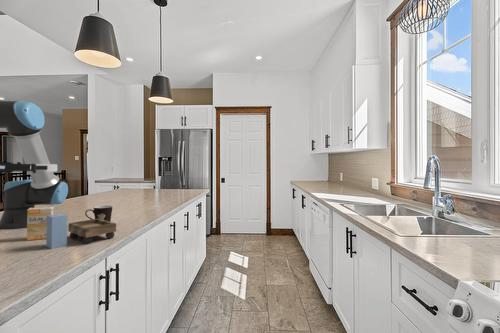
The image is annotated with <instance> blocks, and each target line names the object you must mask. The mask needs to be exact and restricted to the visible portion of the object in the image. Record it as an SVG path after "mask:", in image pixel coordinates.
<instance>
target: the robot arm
mask: <svg viewBox="0 0 500 333" xmlns="http://www.w3.org/2000/svg"><path fill="white" fill-rule="evenodd" d="M45 118H46V117H45V115H44V112H43V111H42V109H41V108H40V107H39V106H38V105H37V104H35V103H33V102H30V101H28V102H27V101H23V100H19V101H17V100H0V129H6V132H7V134H8V135H9V136H10V137H13V138H14V139H15V142H16V143H17V144H16V145H18V149H19V151H20V153H21V155H22V157H23V160H24V162H25V163H21V162H20V161H19V162H18V161H17V162H16V163H13V162H8V161H0V174H3V173H13V172H29V174H30V177H31V179H30V178H29V179H21V180H12V181H7V182H5V184H4V187H3V188H4V189H3V213H2V215H1V217H0V229H5V230H7V229H9V230H10V229H12V230H13V229H21V228H27V212H28V209H29V208H36V207H35V206H50V205H51V206H54V205H61V204H62V203H64V201H65V200H66V199H67V196H68V194H69V186H68V183H67V182H64V181H61V179H60V177H59V176H58V175H55V174H54V172H58V164H57V163H56V164H55V163H51V162H50V161H49V157H48V154H47V152H46V149H45V145H44V143H43V141H42V140H43V139H42V138H41V135H40V133H41V132H42V130H43V127H44V126H45V123H46V122H45V121H46V120H45Z"/></svg>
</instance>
